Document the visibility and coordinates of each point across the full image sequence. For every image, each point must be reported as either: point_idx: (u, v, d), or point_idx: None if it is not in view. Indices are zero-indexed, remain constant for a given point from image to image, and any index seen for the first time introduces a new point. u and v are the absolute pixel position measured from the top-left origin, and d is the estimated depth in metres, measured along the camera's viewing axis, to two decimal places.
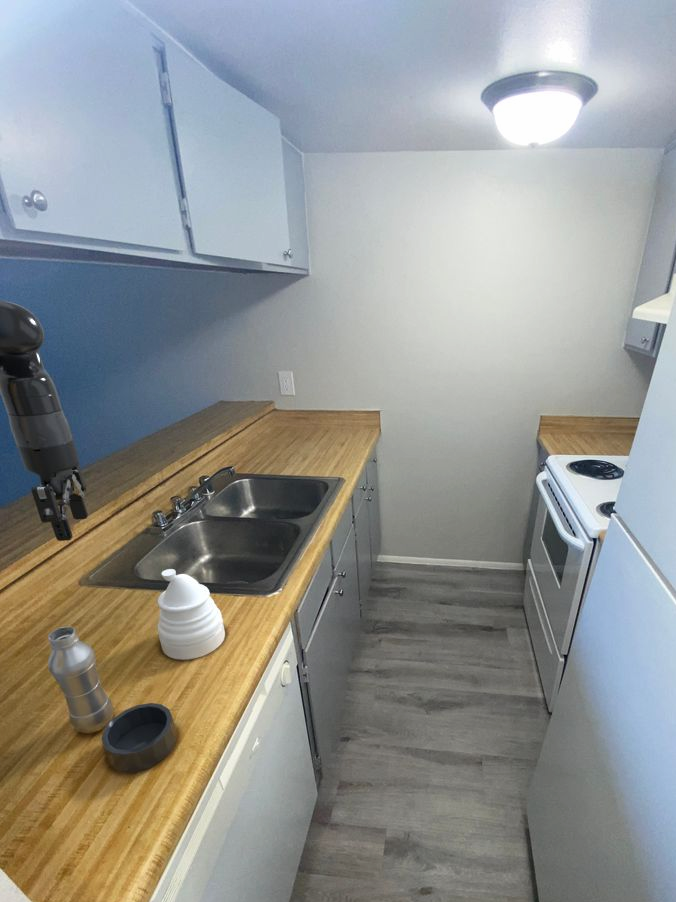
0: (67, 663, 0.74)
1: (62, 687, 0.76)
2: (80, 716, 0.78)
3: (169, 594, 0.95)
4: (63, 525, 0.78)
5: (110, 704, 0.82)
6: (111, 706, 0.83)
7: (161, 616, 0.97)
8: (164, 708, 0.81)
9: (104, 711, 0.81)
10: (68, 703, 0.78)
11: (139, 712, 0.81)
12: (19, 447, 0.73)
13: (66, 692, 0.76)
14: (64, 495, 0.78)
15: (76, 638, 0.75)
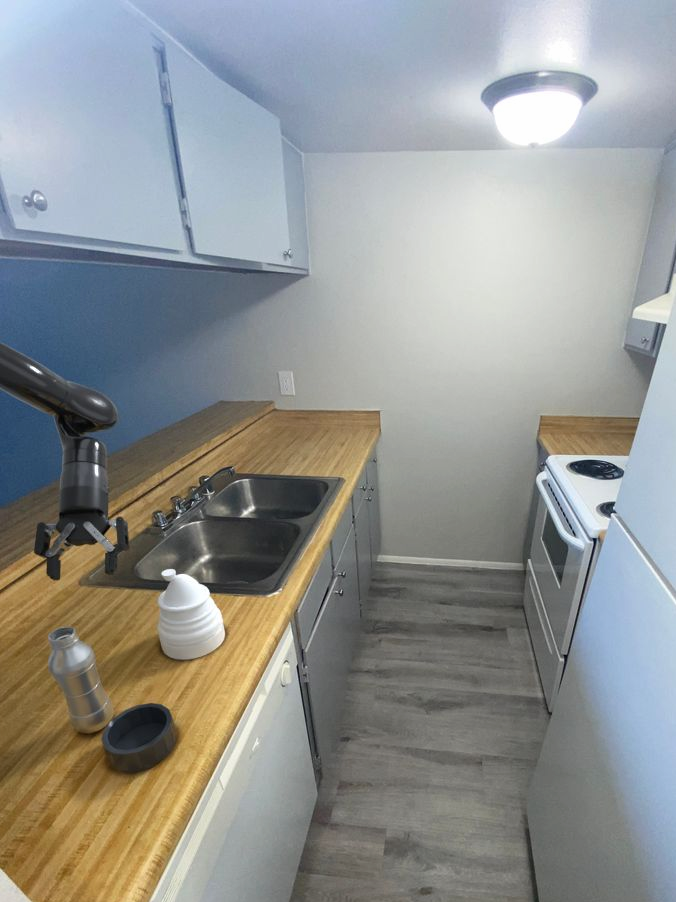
0: (67, 663, 0.74)
1: (62, 687, 0.76)
2: (80, 716, 0.78)
3: (169, 594, 0.95)
4: None
5: (110, 704, 0.82)
6: (111, 706, 0.83)
7: (161, 616, 0.97)
8: (164, 708, 0.81)
9: (104, 711, 0.81)
10: (68, 703, 0.78)
11: (139, 712, 0.81)
12: (94, 488, 0.86)
13: (66, 692, 0.76)
14: None
15: (76, 638, 0.75)
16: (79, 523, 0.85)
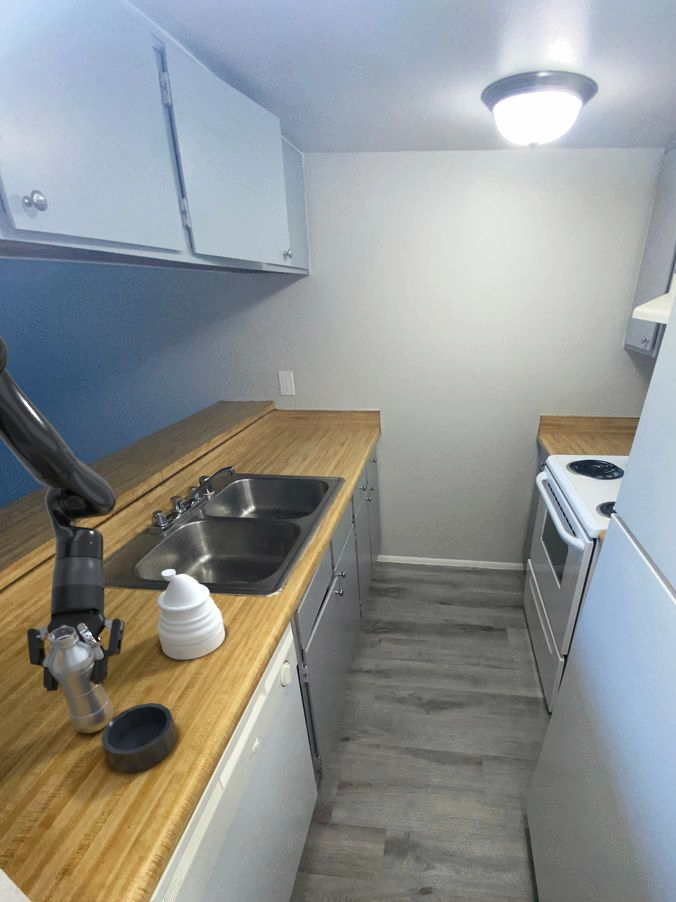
0: (67, 663, 0.74)
1: (62, 687, 0.76)
2: (80, 716, 0.78)
3: (169, 594, 0.95)
4: (105, 665, 0.79)
5: (110, 704, 0.82)
6: (111, 706, 0.83)
7: (161, 616, 0.97)
8: (164, 708, 0.81)
9: (104, 711, 0.81)
10: (68, 703, 0.78)
11: (139, 712, 0.81)
12: (89, 585, 0.80)
13: (66, 692, 0.76)
14: None
15: (76, 638, 0.75)
16: (72, 624, 0.79)
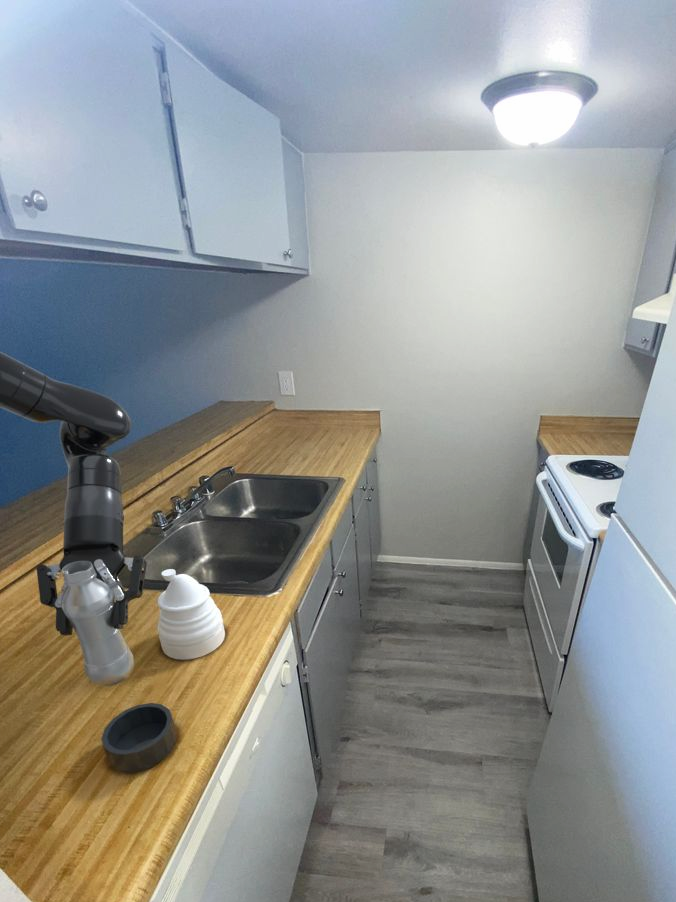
0: (83, 601, 0.64)
1: (77, 630, 0.66)
2: (97, 665, 0.69)
3: (169, 594, 0.95)
4: None
5: (130, 655, 0.73)
6: (131, 657, 0.73)
7: (161, 616, 0.97)
8: (164, 708, 0.81)
9: (124, 661, 0.71)
10: (84, 650, 0.68)
11: (139, 712, 0.81)
12: (107, 517, 0.70)
13: (82, 636, 0.67)
14: None
15: (93, 573, 0.65)
16: None
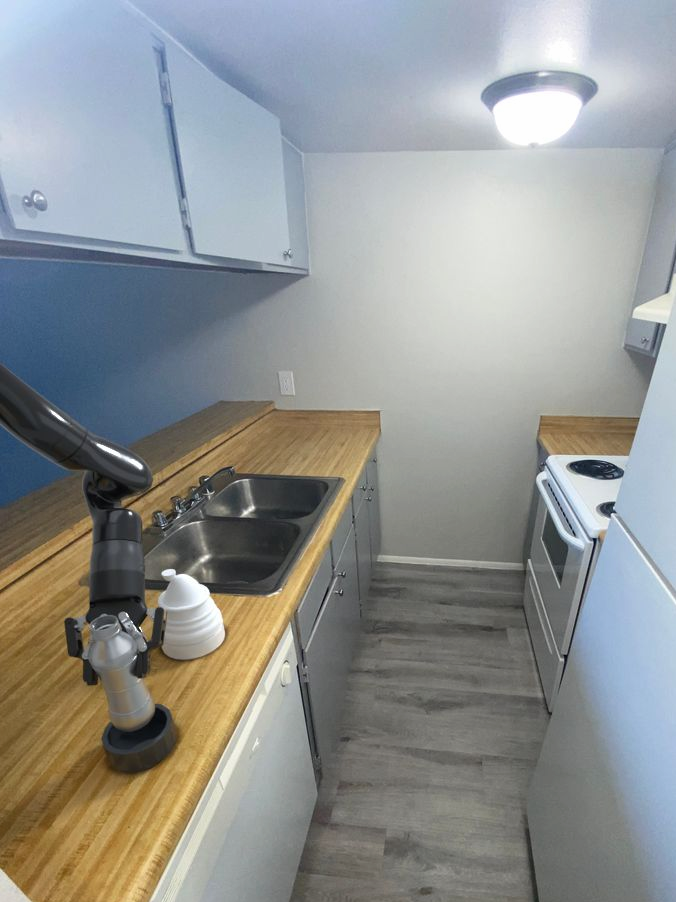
0: (110, 654, 0.67)
1: (103, 681, 0.69)
2: (121, 713, 0.72)
3: (169, 594, 0.95)
4: (147, 657, 0.73)
5: (152, 700, 0.76)
6: (153, 702, 0.76)
7: None
8: (164, 708, 0.81)
9: (146, 707, 0.74)
10: (109, 699, 0.71)
11: None
12: (130, 570, 0.73)
13: (107, 687, 0.70)
14: None
15: (119, 628, 0.68)
16: (113, 613, 0.72)
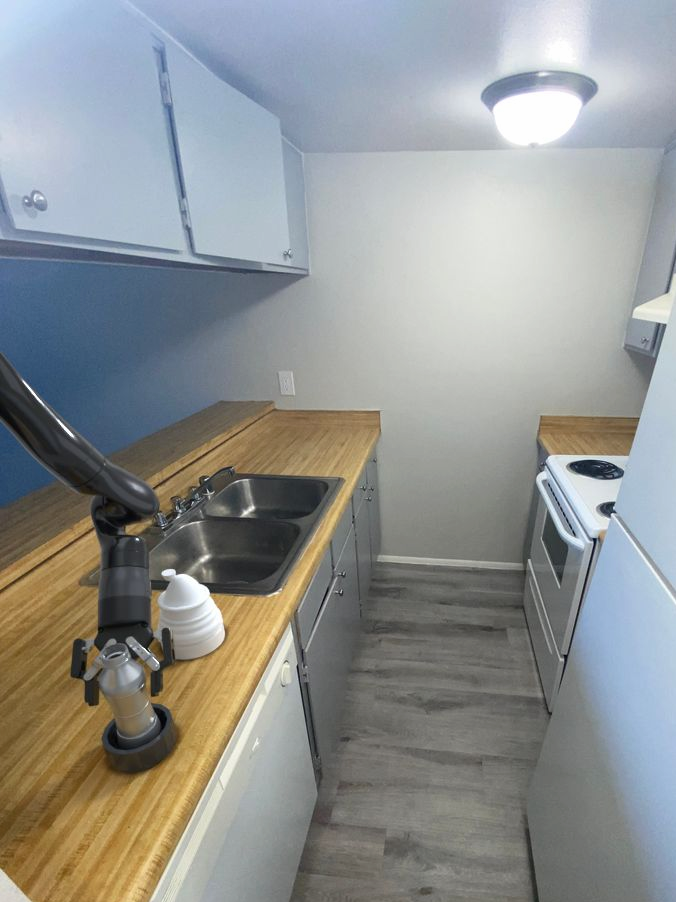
0: (119, 682, 0.70)
1: (113, 707, 0.72)
2: (130, 737, 0.75)
3: (169, 594, 0.95)
4: None
5: (159, 723, 0.79)
6: (160, 725, 0.79)
7: (161, 616, 0.97)
8: (164, 708, 0.81)
9: (153, 731, 0.77)
10: (118, 723, 0.74)
11: None
12: (137, 596, 0.75)
13: (117, 712, 0.72)
14: None
15: (128, 656, 0.71)
16: (120, 638, 0.74)
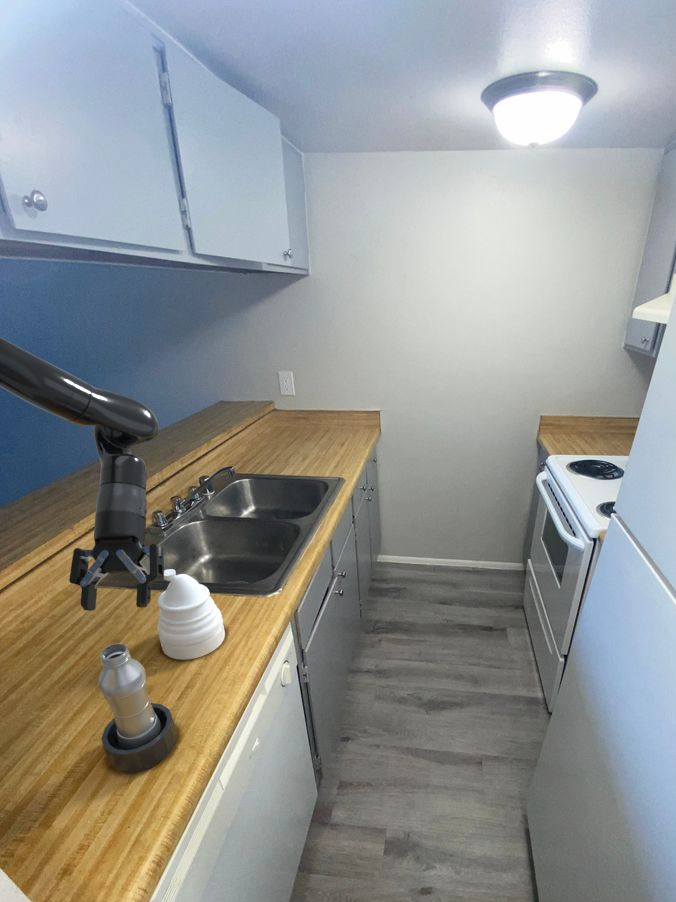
0: (119, 682, 0.70)
1: (113, 707, 0.72)
2: (130, 737, 0.75)
3: (169, 594, 0.95)
4: None
5: (159, 723, 0.79)
6: (160, 725, 0.79)
7: (161, 616, 0.97)
8: (164, 708, 0.81)
9: (153, 731, 0.77)
10: (118, 723, 0.74)
11: None
12: (128, 512, 0.79)
13: (117, 712, 0.72)
14: (141, 564, 0.81)
15: (128, 656, 0.71)
16: (113, 550, 0.79)
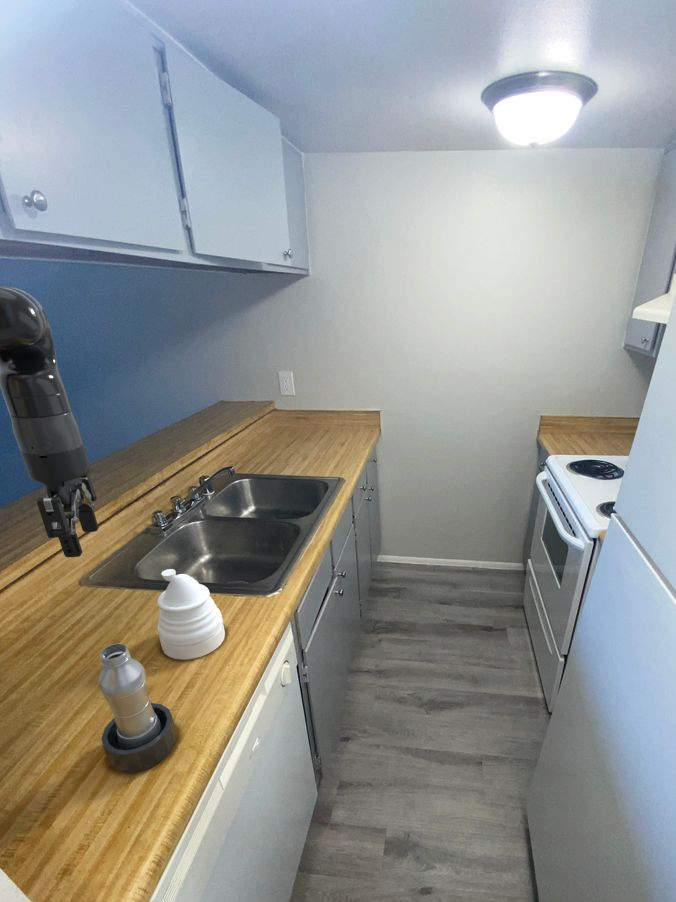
0: (119, 682, 0.70)
1: (113, 707, 0.72)
2: (130, 737, 0.75)
3: (169, 594, 0.95)
4: (72, 540, 0.70)
5: (159, 723, 0.79)
6: (160, 725, 0.79)
7: (161, 616, 0.97)
8: (164, 708, 0.81)
9: (153, 731, 0.77)
10: (118, 723, 0.74)
11: None
12: (23, 453, 0.65)
13: (117, 712, 0.72)
14: (73, 507, 0.69)
15: (128, 656, 0.71)
16: None
